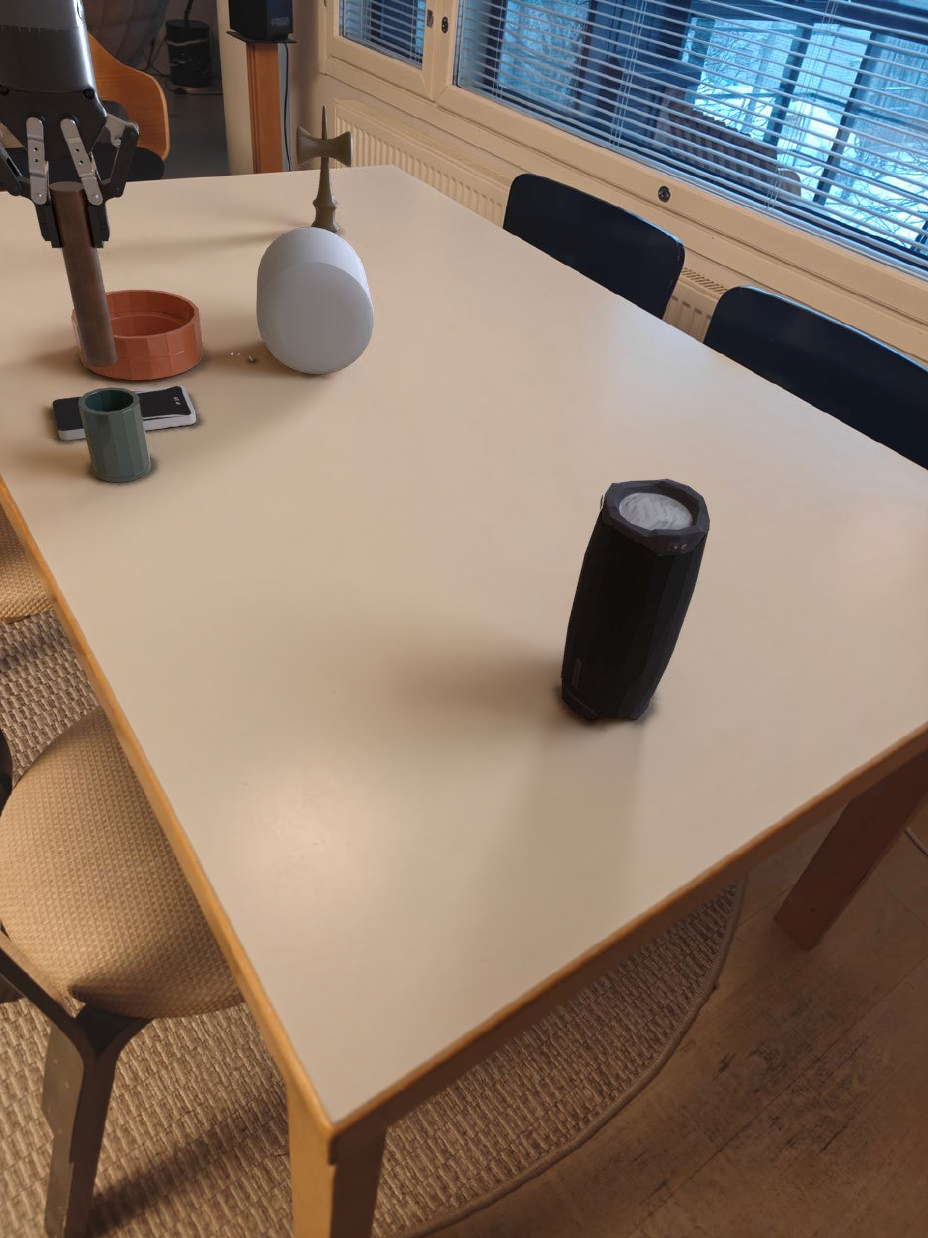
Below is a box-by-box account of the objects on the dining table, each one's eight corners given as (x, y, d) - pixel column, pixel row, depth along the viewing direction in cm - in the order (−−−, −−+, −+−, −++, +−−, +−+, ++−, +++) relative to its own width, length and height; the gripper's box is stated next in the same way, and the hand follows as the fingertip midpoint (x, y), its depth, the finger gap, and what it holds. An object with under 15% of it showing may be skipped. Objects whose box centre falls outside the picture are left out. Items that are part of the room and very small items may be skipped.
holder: (92, 484, 90) (76, 415, 85) (95, 455, 94) (80, 387, 89) (150, 481, 92) (138, 413, 86) (150, 452, 96) (139, 385, 91)
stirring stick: (84, 367, 84) (46, 191, 73) (86, 354, 86) (49, 180, 75) (117, 366, 84) (84, 191, 74) (118, 353, 86) (86, 181, 76)
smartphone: (51, 399, 100) (183, 384, 105) (54, 410, 101) (185, 394, 106) (57, 431, 95) (196, 414, 100) (60, 442, 96) (197, 424, 101)
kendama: (299, 224, 157) (294, 99, 144) (351, 226, 159) (352, 103, 146) (298, 235, 153) (294, 107, 140) (353, 237, 154) (353, 111, 141)
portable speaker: (628, 651, 78) (685, 465, 66) (670, 728, 72) (743, 538, 59) (539, 660, 76) (581, 470, 63) (574, 740, 70) (628, 546, 57)
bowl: (77, 386, 105) (67, 339, 101) (84, 334, 116) (75, 289, 112) (206, 382, 109) (201, 336, 105) (201, 331, 120) (196, 288, 116)
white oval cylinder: (204, 337, 108) (239, 242, 124) (288, 417, 117) (310, 318, 133) (314, 252, 99) (336, 161, 115) (395, 344, 108) (405, 249, 124)
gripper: (130, 13, 71) (159, 232, 82) (-61, 0, 67) (-2, 230, 79) (128, 28, 65) (160, 260, 77) (-79, 15, 62) (-13, 260, 73)
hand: (78, 244), depth 78 cm, fingers closed on stirring stick, 3 cm apart
